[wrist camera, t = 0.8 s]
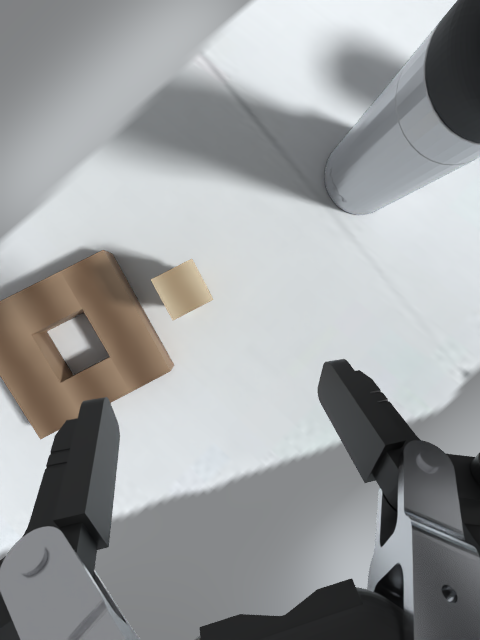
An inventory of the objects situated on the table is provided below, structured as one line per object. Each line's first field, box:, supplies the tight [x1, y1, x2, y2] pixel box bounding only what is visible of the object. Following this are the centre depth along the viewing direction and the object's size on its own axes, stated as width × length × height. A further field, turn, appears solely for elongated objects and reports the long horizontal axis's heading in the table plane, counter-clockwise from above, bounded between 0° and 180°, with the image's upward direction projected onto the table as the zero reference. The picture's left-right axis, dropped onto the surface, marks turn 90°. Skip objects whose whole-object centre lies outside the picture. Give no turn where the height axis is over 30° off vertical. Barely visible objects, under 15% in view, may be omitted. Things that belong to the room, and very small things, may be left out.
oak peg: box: [151, 259, 213, 320], centre depth 31 cm, size 4×4×10 cm
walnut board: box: [0, 250, 174, 439], centre depth 34 cm, size 16×15×3 cm
